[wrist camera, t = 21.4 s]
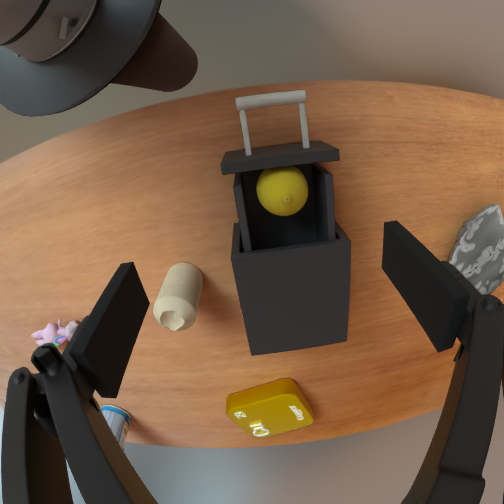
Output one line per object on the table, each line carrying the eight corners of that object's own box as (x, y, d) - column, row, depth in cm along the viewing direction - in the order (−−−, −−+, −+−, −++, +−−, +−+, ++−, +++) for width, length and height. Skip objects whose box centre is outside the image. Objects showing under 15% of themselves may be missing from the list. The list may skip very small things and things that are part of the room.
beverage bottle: (117, 401, 59) (96, 471, 41) (138, 420, 63) (123, 486, 45) (95, 404, 61) (73, 468, 43) (116, 422, 64) (99, 483, 46)
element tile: (313, 408, 60) (316, 425, 56) (254, 425, 63) (254, 441, 59) (290, 374, 54) (293, 394, 50) (222, 395, 57) (221, 413, 53)
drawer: (217, 103, 32) (209, 100, 25) (314, 91, 31) (332, 87, 24) (242, 251, 41) (242, 283, 34) (326, 240, 40) (343, 269, 33)
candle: (203, 262, 43) (192, 305, 34) (204, 294, 45) (195, 339, 36) (165, 261, 42) (147, 301, 33) (168, 292, 45) (153, 336, 36)
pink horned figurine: (80, 306, 48) (28, 323, 47) (71, 326, 42) (18, 340, 42) (96, 332, 50) (44, 345, 50) (89, 352, 45) (35, 364, 44)
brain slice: (425, 240, 42) (434, 248, 39) (492, 187, 37) (503, 192, 35) (449, 312, 49) (456, 321, 46) (506, 265, 45) (514, 272, 42)
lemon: (308, 187, 36) (324, 208, 29) (270, 209, 37) (276, 236, 30) (286, 149, 34) (297, 160, 26) (246, 173, 35) (246, 190, 28)
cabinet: (233, 223, 40) (230, 257, 31) (328, 210, 39) (350, 241, 31) (250, 310, 47) (251, 355, 38) (330, 299, 46) (346, 341, 37)
